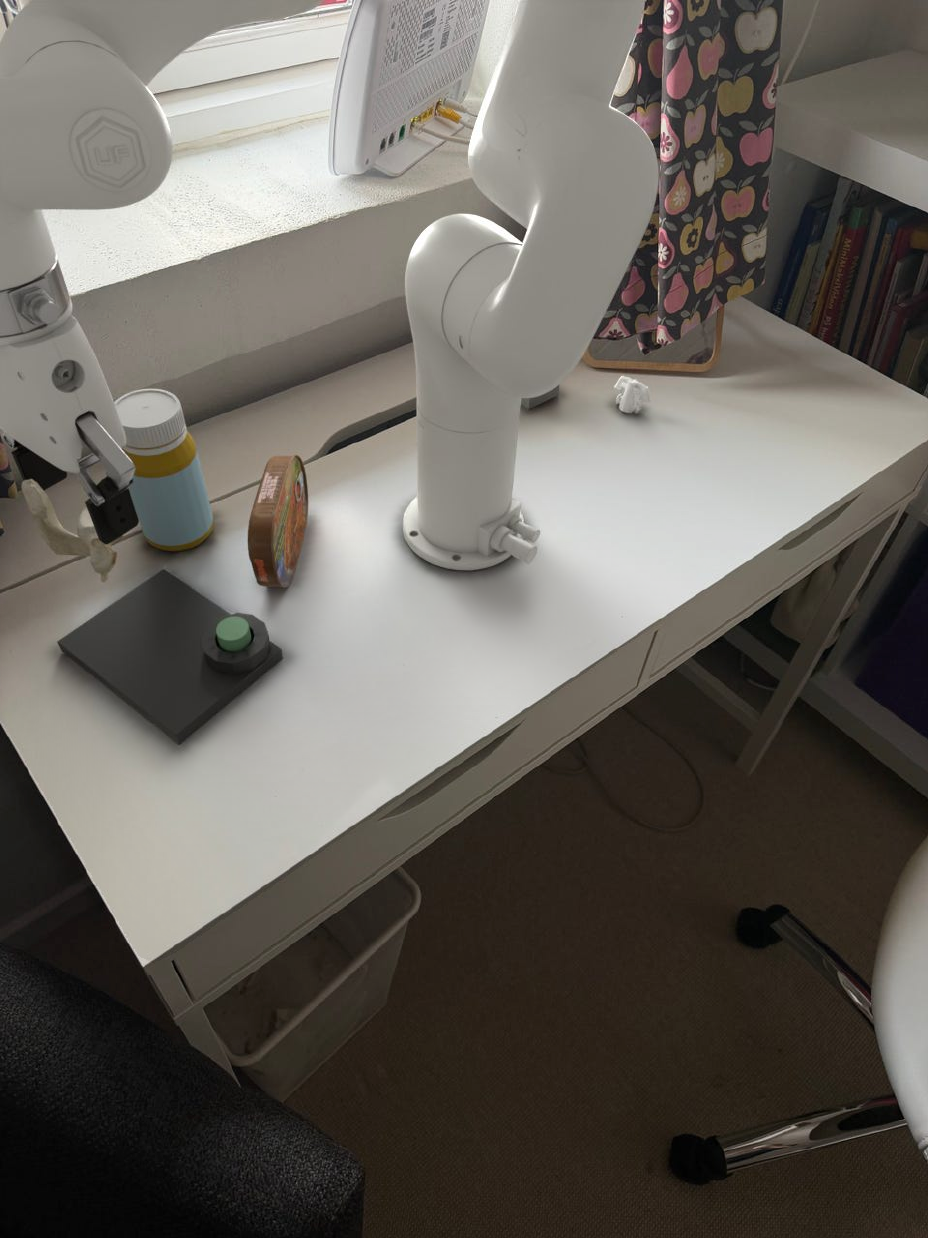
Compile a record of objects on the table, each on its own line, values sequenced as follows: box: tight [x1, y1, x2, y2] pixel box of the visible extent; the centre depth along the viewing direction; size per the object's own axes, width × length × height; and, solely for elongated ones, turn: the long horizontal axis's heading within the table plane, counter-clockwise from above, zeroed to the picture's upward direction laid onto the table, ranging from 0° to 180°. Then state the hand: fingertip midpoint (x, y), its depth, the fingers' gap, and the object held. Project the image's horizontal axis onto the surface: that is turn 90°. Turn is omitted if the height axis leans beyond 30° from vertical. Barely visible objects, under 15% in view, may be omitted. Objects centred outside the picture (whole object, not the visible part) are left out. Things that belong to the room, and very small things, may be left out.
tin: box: [247, 454, 309, 589], centre depth 86 cm, size 15×3×8 cm, turn 177°
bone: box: [21, 479, 124, 583], centre depth 67 cm, size 9×6×10 cm
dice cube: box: [521, 383, 561, 410], centre depth 107 cm, size 5×5×5 cm
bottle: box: [114, 388, 215, 552], centre depth 85 cm, size 7×7×15 cm
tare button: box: [216, 617, 251, 652], centre depth 77 cm, size 3×3×2 cm
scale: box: [56, 568, 284, 745], centre depth 78 cm, size 16×12×3 cm
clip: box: [613, 375, 651, 414], centre depth 106 cm, size 5×2×4 cm, turn 50°
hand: (83, 507), depth 67 cm, fingers closed on bone, 8 cm apart
